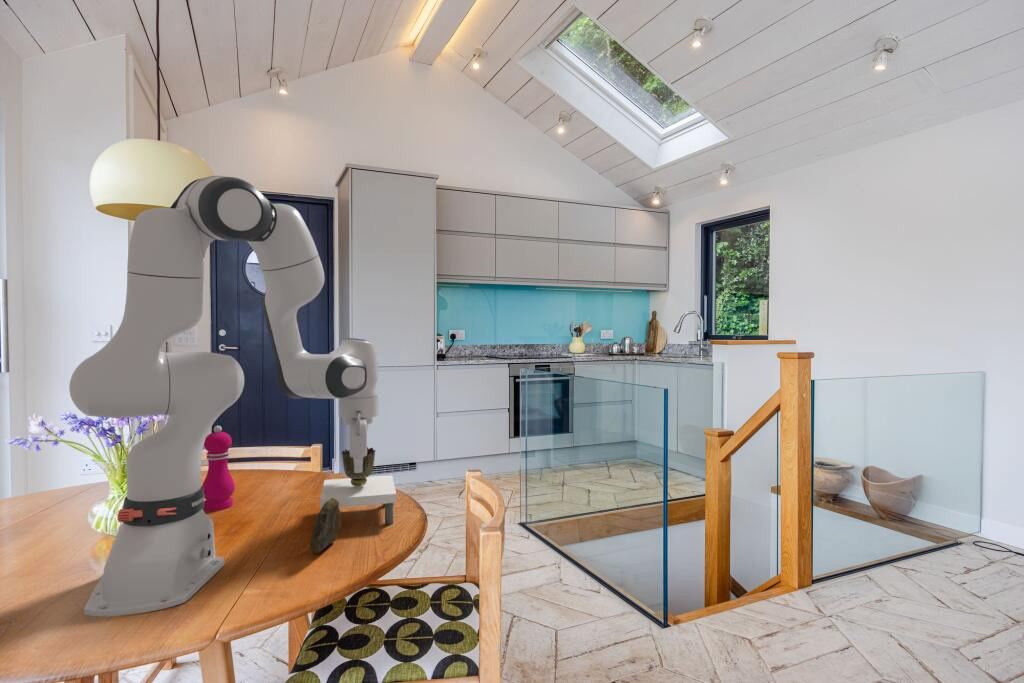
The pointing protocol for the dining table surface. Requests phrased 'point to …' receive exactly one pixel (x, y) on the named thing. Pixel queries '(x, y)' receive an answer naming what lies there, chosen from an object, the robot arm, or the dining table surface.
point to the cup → (368, 464)
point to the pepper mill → (218, 472)
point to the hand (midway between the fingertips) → (358, 468)
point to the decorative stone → (326, 526)
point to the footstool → (362, 493)
